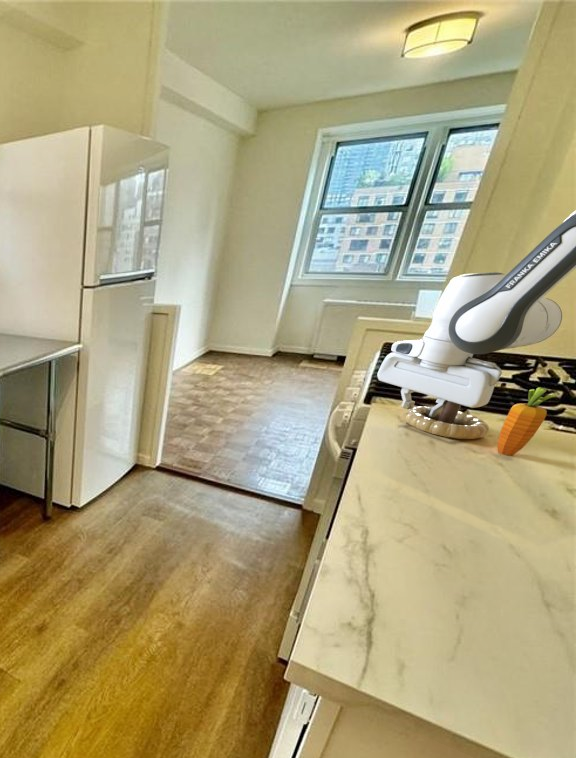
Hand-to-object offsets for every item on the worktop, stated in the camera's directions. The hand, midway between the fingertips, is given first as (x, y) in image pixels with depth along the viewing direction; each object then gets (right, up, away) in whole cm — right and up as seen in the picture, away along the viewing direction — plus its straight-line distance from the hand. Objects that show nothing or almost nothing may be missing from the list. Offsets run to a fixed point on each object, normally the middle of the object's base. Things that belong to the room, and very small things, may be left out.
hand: (417, 412), depth 109 cm
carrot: (+4, -11, -14) cm, 18 cm away
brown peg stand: (+2, -5, -3) cm, 6 cm away
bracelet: (+2, -2, -5) cm, 5 cm away
